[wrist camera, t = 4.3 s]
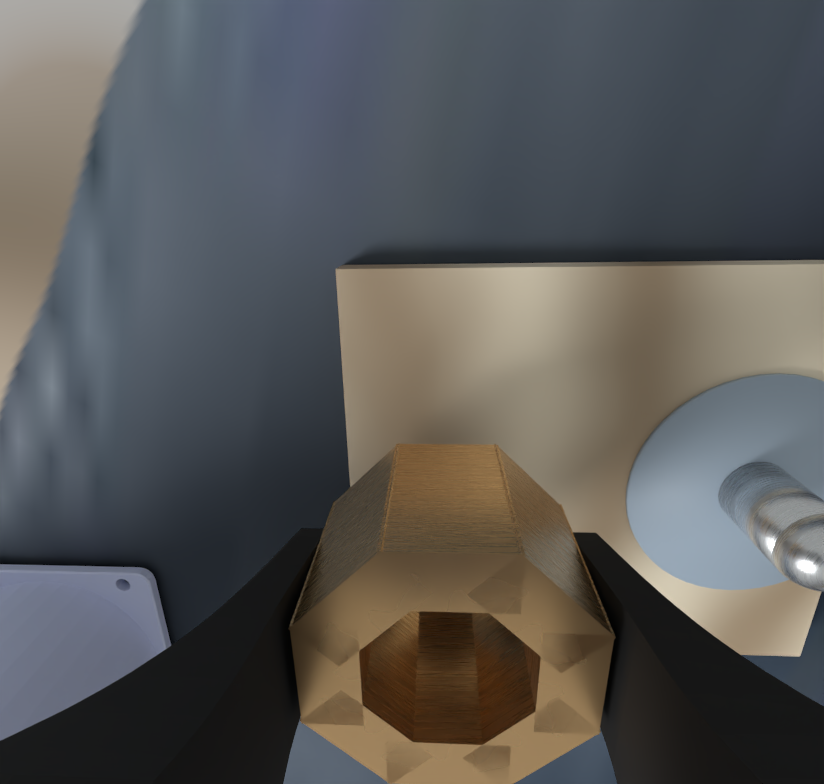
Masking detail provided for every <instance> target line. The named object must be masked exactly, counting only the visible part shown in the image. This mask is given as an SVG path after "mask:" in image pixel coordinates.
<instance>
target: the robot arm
mask: <svg viewBox="0 0 824 784" xmlns="http://www.w3.org/2000/svg"><path fill="white" fill-rule="evenodd" d="M323 530H324V529H311V528H301V529H300V530H299V531H298V532H297V533H296V534H295V535H294V536H293V537H292V538H291V539H290V540H289V541H288V542H287V544H286V545H285V546H284V547H283V548H282V549H281V550H280V551H279V552H278V553H277V554H276V555H275V556H274V557H273V558H272V559H271V560H270V561H269V562H268V563H267V564H266V565H265V566H264V567H263V568H262V569H261V570H260V571H259V572H258V573H257V574H256V575H255V576H254V577H253V578H252V579H251V580H250V581H249V582H248V583H247V584H246V585H245V586H244V587H243V588H242V589H241V590H239V591H238V592H237V593H236V594H235V595H234V596H233V597H232V598H231V599H229V600H228V601H227V602H226V603H225V604H224V605H223V606H222V607H220V608H219V609H218V610H217V611H216V612H215V613H214V614H212V615H211V616H210V617H209V618H207V619H206V620H205V621H204V622H202V623H201V624H200V625H199V626H197V627H196V628H195V629H193V630H192V631H191V632H189V633H188V634H187V635H185V636H184V637H183V638H181V639H180V640H178V641H177V642H176V643H174V644H173V645H171V643H170V639H169V634H168V630H167V626H166V622H165V617H164V613H163V609H162V605H161V601H160V596H159V592H158V588H157V584H156V579H155V577H154V575H153V574H152V573H151V572H150V571H149V570H147V569H145V568H141V567H105V566H58V565H11V564H0V784H283V781H284V777H285V772H286V768H287V763H288V758H289V754H290V750H291V747H292V743H293V739H294V736H295V732H296V729H297V725H298V722H299V719H300V716H301V714H300V706H299V698H298V690H297V682H296V674H295V666H294V659H293V651H292V643H291V635H290V630H289V629H288V628H289V625H290V622H291V620H292V617H293V614H294V611H295V608H296V605H297V603H298V600H299V597H300V594H301V591H302V589H303V586H304V583H305V580H306V577H307V575H308V572H309V569H310V566H311V563H312V561H313V558H314V555H315V553H316V550H317V547H318V544H319V541H320V538H321V535H322V532H323ZM573 534H574V537H575V539H576V541H577V544H578V546H579V549H580V551H581V554H582V556H583V559H584V561H585V563H586V566H587V568H588V571H589V573H590V576H591V578H592V581H593V583H594V585H595V588H596V590H597V593H598V595H599V598H600V600H601V603H602V605H603V607H604V610H605V612H606V615H607V617H608V620H609V622H610V625H611V627H612V629H613V632H614V634H615V637H616V638H615V639H614V643H613V649H612V655H611V662H610V668H609V674H608V680H607V687H606V693H605V699H604V706H603V712H602V718H601V724H600V728H601V731H602V734H603V736H604V739H605V742H606V745H607V748H608V752H609V755H610V758H611V761H612V765H613V768H614V772H615V776H616V780H617V784H824V706H822V705H820V704H818V703H817V702H815V701H813V700H811V699H810V698H808V697H806V696H804V695H803V694H801V693H799V692H798V691H796V690H795V689H793V688H791V687H790V686H788V685H786V684H785V683H783V682H782V681H780V680H778V679H777V678H775V677H773V676H772V675H770V674H769V673H767V672H765V671H764V670H762V669H761V668H759V667H758V666H756V665H755V664H753V663H752V662H750V661H749V660H747V659H746V658H744V657H743V656H741V655H740V654H739V653H737V652H736V651H734V650H733V649H731V648H730V647H729V646H727V645H726V644H724V643H723V642H722V641H720V640H719V639H717V638H716V637H715V636H713V635H712V634H711V633H709V632H708V631H707V630H705V629H704V628H703V627H701V626H700V625H699V624H697V623H696V622H695V621H694V620H693V619H691V618H690V617H689V616H688V615H686V614H685V613H684V612H683V611H681V610H680V609H679V608H678V607H676V606H675V605H674V604H673V603H672V602H671V601H669V600H668V599H667V598H666V597H665V596H663V595H662V594H661V593H660V592H659V591H658V590H657V589H656V588H654V587H653V586H652V585H651V584H650V583H649V582H648V581H647V580H646V579H644V578H643V577H642V576H641V575H640V574H639V573H638V572H637V571H636V570H635V569H634V568H633V567H631V566H630V565H629V564H628V563H627V562H626V561H625V560H624V559H623V558H622V557H621V556H620V555H619V554H618V553H617V552H616V551H615V550H614V549H613V548H612V547H611V546H610V545H608V544H607V543H606V542H605V541H604V540H603V539H602V538H601V537H600V536H599V535H598V534H597V533H589V532H573ZM125 580H126V581H128V582H129V583H128V582H126V581H125Z"/></svg>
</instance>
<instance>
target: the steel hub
mask: <svg viewBox="0 0 824 784" xmlns="http://www.w3.org/2000/svg"><path fill="white" fill-rule="evenodd" d="M718 500H719V504H720V507H721V508H722V510H723V511H724V512H725V513H726V514H727V516H728V517H729V518H730V519H731V520H732V521H733V522H734V523H735V524H736V525H737V526H738V527H739V528H740V530H741V531H742V532H743V533H744V534H745V535H746V536H747V537H748V538H749V539H750V540H751V541H752V543H753V544H754V545H755V546H756V547H757V548H758V549H759V550H760V551H761V552H762V553H763V554H764V555H765V557H766V558H767V559H768V560H769V561H770V562H771V563H772V564H773V565H774V566H775V567H776V568H777V570H778V571H779V572H780V573H782V574H783V575H784V576H785V577H786V578H788V579H789V580H790V581H792V582H794V583H795V584H797V585H799V586H802V587H804V588H807V589H810V590H815V591H822V592H824V500H822V499H821V498H820V497H819V496H817V495H816V494H815V493H813V492H812V491H811V490H809V489H808V488H807V487H806V486H804V485H803V484H802V483H800V482H799V481H798V480H796V479H795V478H794V477H793V476H791V475H790V474H789V473H787V472H786V471H785V470H783V469H782V468H781V467H779V466H778V465H776V464H773V463H769V462H752V463H748V464H745V465H743V466H741V467H739V468H737V469H735V470H734V471H732V472H731V473H730V474H729V475H728V476H727V477H726V478H725V479H724V481H723V482H722V484H721V486H720V489H719V493H718Z"/></svg>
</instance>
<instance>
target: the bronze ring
mask: <svg viewBox="0 0 824 784" xmlns="http://www.w3.org/2000/svg"><path fill="white" fill-rule="evenodd" d="M288 629H289V630H290V635H291V643H292V651H293V659H294V666H295V674H296V682H297V690H298V698H299V706H300V714H301V719H300V721H301V722H302V723H304V724H305V725H307V726H308V727H310V728H311V729H312V730H314V731H315V732H317V733H318V734H320V735H321V736H322V737H324V738H325V739H327V740H328V741H330V742H331V743H332V744H334V745H335V746H337V747H338V748H340V749H341V750H343V751H344V752H345V753H347V754H348V755H350V756H351V757H353V758H354V759H355V760H357V761H358V762H360V763H361V764H363V765H364V766H366V767H367V768H368V769H370V770H371V771H373V772H374V773H376V774H377V775H378V776H380V777H381V778H383V779H384V780H386V781H387V783H390V784H392V783H397V784H514V783H516V782H517V781H519V780H521V779H522V778H524V777H526V776H527V775H529V774H531V773H532V772H534V771H536V770H538V769H539V768H541V767H543V766H544V765H546V764H548V763H549V762H551V761H553V760H554V759H556V758H558V757H560V756H561V755H563V754H565V753H566V752H568V751H570V750H571V749H573V748H575V747H576V746H578V745H580V744H582V743H583V742H585V741H587V740H588V739H590V738H592V737H593V736H595V735H599V733H600V732H601V731H600V724H601V718H602V712H603V706H604V699H605V693H606V687H607V680H608V674H609V668H610V662H611V655H612V649H613V643H614V639H615V638H616V637H615V634H614V632H613V629H612V627H611V625H610V622H609V620H608V617H607V615H606V612H605V610H604V607H603V605H602V603H601V600H600V598H599V595H598V593H597V590H596V588H595V585H594V583H593V581H592V578H591V576H590V573H589V571H588V568H587V566H586V563H585V561H584V559H583V556H582V554H581V551H580V549H579V546H578V544H577V541H576V539H575V537H574V534H573V532H572V529H571V527H570V524H569V522H568V519H567V517H566V515H565V512H564V510H563V507H562V505H561V504H559V503H558V502H557V501H556V500H555V499H553V498H552V497H551V496H550V495H549V494H548V493H547V492H546V491H545V490H544V489H543V488H542V487H541V486H540V485H539V484H538V483H537V482H535V481H534V480H533V479H532V478H531V477H530V476H529V475H528V474H527V473H526V472H525V471H524V470H523V469H522V468H521V467H520V466H519V465H517V464H516V463H515V462H514V461H513V460H512V459H511V458H510V457H509V456H508V455H507V454H506V453H505V452H504V451H503V450H502V449H500V448H499V446H498V445H496V444H494V445H482V444H400V443H398V444H396V446H395V447H394V448H393V449H391V450H390V451H389V452H388V453H387V454H386V455H385V456H384V457H383V458H382V459H381V460H380V461H378V462H377V463H376V464H375V465H374V466H373V467H372V468H371V469H370V470H369V471H368V472H367V473H365V474H364V475H363V476H362V477H361V478H360V479H359V480H358V481H357V482H356V483H355V484H353V485H352V486H351V487H350V488H349V489H348V490H347V491H346V492H345V493H344V494H343V495H342V496H340V497H339V498H338V499H337V500H336V501H334V502H333V504H332V507H331V510H330V513H329V516H328V518H327V521H326V524H325V527H324V530H323V532H322V535H321V538H320V541H319V544H318V547H317V550H316V553H315V555H314V558H313V561H312V563H311V566H310V569H309V572H308V575H307V577H306V580H305V583H304V586H303V589H302V591H301V594H300V597H299V600H298V603H297V605H296V608H295V611H294V614H293V617H292V620H291V622H290V625H289V628H288Z"/></svg>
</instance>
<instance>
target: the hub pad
mask: <svg viewBox="0 0 824 784" xmlns="http://www.w3.org/2000/svg"><path fill="white" fill-rule="evenodd" d="M752 462H769V463H773V464H776V465H778V466H779V467H781V468H782V469H783V470H785V471H786V472H787V473H789V474H790V475H791V476H793V477H794V478H795V479H796V480H798V481H799V482H800V483H802V484H803V485H804V486H806V487H807V488H808V489H809V490H811V491H812V492H813V493H815V494H816V495H817V496H819V497H820V498H821V499H822V500H824V381H821V380H818V379H815V378H812V377H807V376H802V375H797V374H782V373H775V374H760V375H754V376H748V377H742V378H739V379H735V380H732V381H728V382H725V383H722V384H720V385H718V386H715V387H713V388H710V389H708V390H706V391H704V392H702V393H700V394H698V395H697V396H695V397H693V398H691V399H690V400H688V401H687V402H685V403H684V404H682V405H681V406H679V407H678V408H677V409H675V410H674V411H673V412H672V413H671V414H670V415H668V416H667V417H666V418H665V419H664V420H663V421H662V422H661V423H660V424H659V425H658V426H657V427H656V428H655V429H654V431H653V432H652V433H651V434H650V436H649V437H648V438H647V440H646V441H645V443H644V444H643V445H642V447H641V449H640V451H639V453H638V454H637V456H636V458H635V460H634V463H633V465H632V468H631V471H630V473H629V478H628V482H627V487H626V500H625V501H626V513H627V517H628V521H629V525H630V528H631V530H632V532H633V534H634V537H635V539H636V540H637V542H638V543H639V545H640V547H641V548H642V550H643V551H644V552H645V554H646V555H647V556H648V557H649V558H650V559H651V560H652V561H653V562H654V563H655V564H656V565H657V566H659V567H660V568H661V569H662V570H664V571H665V572H667V573H669V574H670V575H672V576H674V577H676V578H678V579H680V580H683V581H685V582H687V583H691V584H694V585H697V586H701V587H706V588H712V589H722V590H745V589H753V588H761V587H765V586H770V585H774V584H778V583H781V582H784V581H787V580H789V579H788V578H786V577H785V576H784V575H783V574H782V573H780V572H779V571H778V570H777V568H776V567H775V566H774V565H773V564H772V563H771V562H770V561H769V560H768V559H767V558H766V557H765V555H764V554H763V553H762V552H761V551H760V550H759V549H758V548H757V547H756V546H755V545H754V544H753V543H752V541H751V540H750V539H749V538H748V537H747V536H746V535H745V534H744V533H743V532H742V531H741V530H740V528H739V527H738V526H737V525H736V524H735V523H734V522H733V521H732V520H731V519H730V518H729V517H728V516H727V514H726V513H725V512H724V511H723V510H722V508H721V507H720V504H719V500H718V493H719V489H720V486H721V484H722V482H723V481H724V479H725V478H726V477H727V476H728V475H729V474H730V473H731V472H732V471H734V470H735V469H737V468H739V467H741V466H743V465H745V464H748V463H752Z"/></svg>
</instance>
